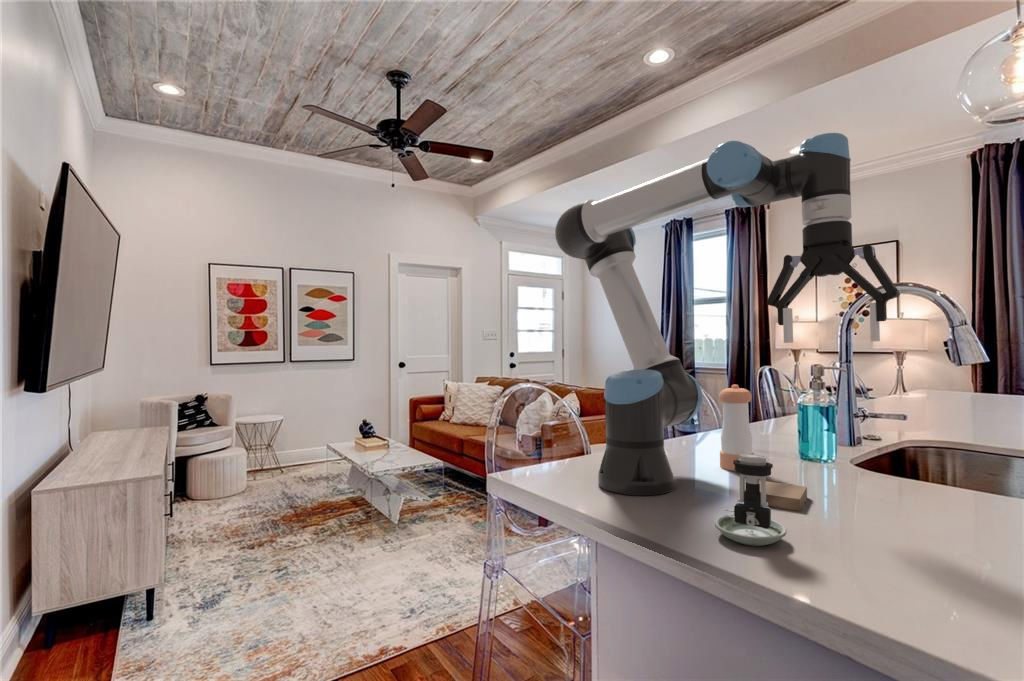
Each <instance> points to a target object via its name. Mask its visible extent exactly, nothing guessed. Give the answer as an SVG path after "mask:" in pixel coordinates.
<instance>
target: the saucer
mask: <svg viewBox="0 0 1024 681" xmlns="http://www.w3.org/2000/svg"><path fill="white" fill-rule="evenodd" d="M728 515H729V516H735V515H734V513H733V514H731V513H730V514H728ZM714 526H715V528H716V529H717V530H718V531H720V533H721V534H722V535H724V536H725V537H726V538H727V539H730V540H732V541H735V542H736V543H738V544H741V545H745V546H751V547H752V546H753V547H760V546H761V547H762V546H767V545H771V544H774V543H776V542H778V541H779V540H781V539H783V538H784V537H786V535H787V528H786V527H785V526H784V525H783V524H782V523H780V522H779V521H776V520H774V519H772V518H771V525H770V527H769V528H768V529H764V528H762V527H757V526H751V525H746V524H740V523H736V522H735V519H734V518H730V517H725V516H724V515H721V516H719V517H717V518H716V519H715V520H714Z"/></svg>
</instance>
